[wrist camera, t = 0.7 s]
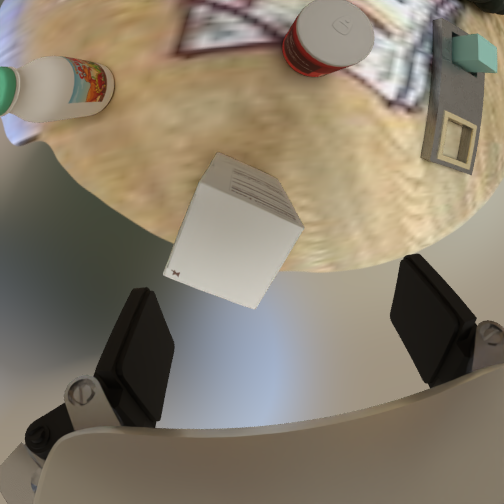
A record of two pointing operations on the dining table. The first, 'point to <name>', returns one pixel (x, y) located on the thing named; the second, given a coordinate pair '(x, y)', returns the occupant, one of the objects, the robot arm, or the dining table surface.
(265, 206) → the supplement box
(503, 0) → the squash
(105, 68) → the milk bottle
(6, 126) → the dining table surface
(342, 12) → the canned food
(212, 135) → the dining table surface
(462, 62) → the peg
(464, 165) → the grey peg hole board
